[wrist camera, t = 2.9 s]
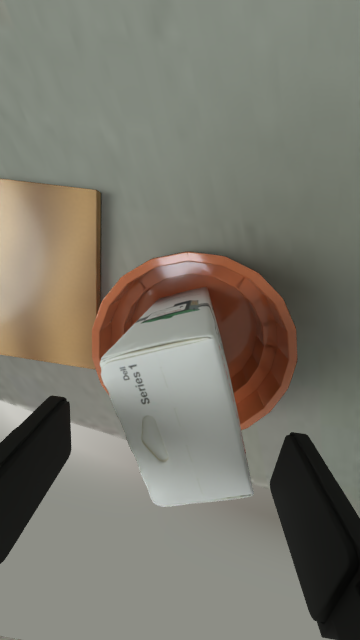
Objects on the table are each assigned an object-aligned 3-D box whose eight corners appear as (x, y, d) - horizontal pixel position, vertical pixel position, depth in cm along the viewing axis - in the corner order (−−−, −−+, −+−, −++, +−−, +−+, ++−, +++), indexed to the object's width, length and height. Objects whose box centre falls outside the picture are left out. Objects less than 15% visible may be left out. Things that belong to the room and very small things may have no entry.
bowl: (293, 264, 18) (327, 269, 13) (252, 410, 22) (267, 453, 18) (118, 242, 18) (90, 238, 14) (114, 387, 23) (92, 423, 18)
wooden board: (101, 192, 17) (96, 189, 17) (99, 365, 22) (96, 369, 22) (-39, 175, 18) (-50, 172, 17) (-10, 348, 23) (-17, 351, 22)
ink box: (228, 369, 21) (262, 507, 10) (179, 379, 22) (157, 517, 10) (207, 283, 19) (219, 333, 7) (153, 298, 19) (89, 362, 8)
